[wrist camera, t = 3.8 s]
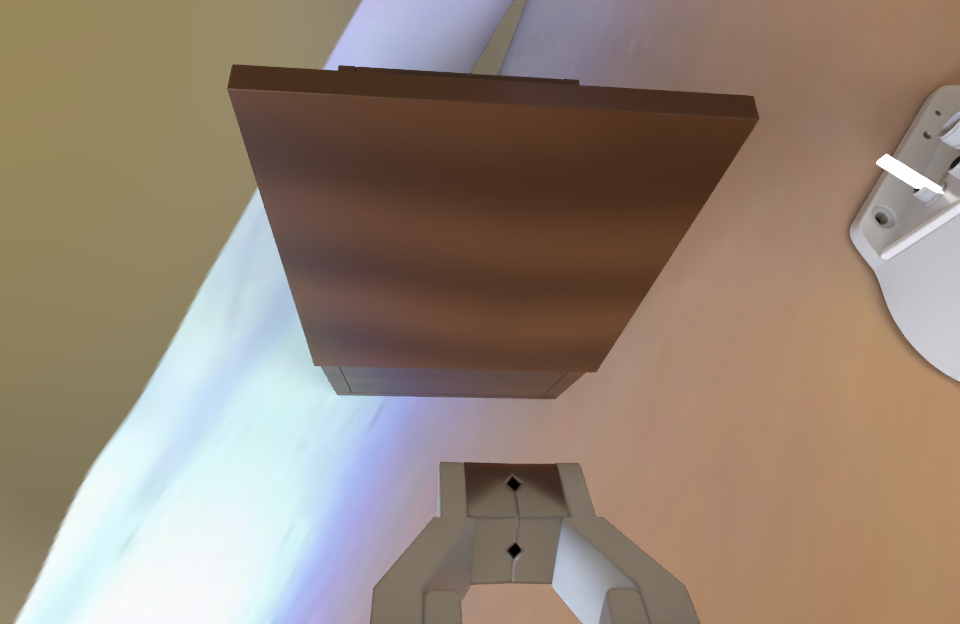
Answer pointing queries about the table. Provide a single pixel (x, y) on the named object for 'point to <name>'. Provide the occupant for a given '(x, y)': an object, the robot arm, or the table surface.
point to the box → (450, 380)
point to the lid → (476, 209)
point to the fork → (500, 41)
